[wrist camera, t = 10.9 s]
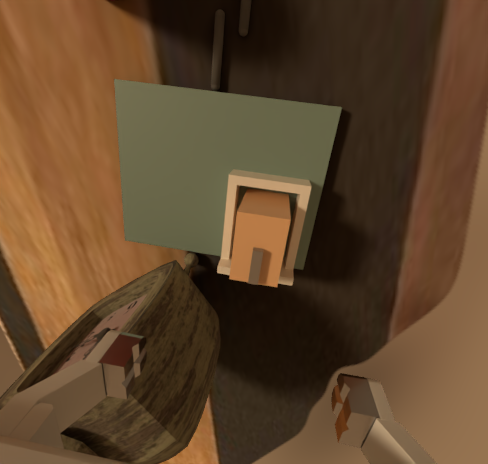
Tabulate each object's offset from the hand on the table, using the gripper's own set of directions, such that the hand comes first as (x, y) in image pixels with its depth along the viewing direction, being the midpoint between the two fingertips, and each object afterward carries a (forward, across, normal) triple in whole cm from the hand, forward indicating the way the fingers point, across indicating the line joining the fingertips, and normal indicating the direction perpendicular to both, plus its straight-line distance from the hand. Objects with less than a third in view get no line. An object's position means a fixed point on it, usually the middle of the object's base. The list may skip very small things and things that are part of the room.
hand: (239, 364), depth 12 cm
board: (+19, +5, -3) cm, 20 cm away
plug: (+18, 0, 0) cm, 18 cm away
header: (+18, 0, 0) cm, 18 cm away
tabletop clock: (+19, +10, +12) cm, 24 cm away
